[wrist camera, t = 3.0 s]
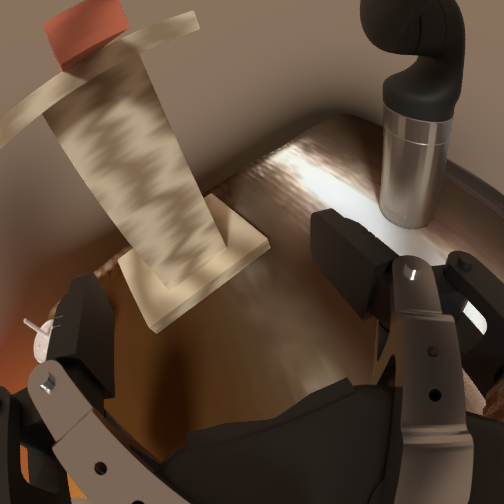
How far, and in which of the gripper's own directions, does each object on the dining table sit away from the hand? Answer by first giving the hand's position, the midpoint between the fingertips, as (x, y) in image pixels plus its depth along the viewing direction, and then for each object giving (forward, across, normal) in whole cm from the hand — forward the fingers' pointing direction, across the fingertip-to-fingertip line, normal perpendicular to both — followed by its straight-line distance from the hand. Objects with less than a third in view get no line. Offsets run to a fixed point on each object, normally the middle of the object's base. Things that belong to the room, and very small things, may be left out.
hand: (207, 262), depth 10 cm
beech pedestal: (+29, +1, +19) cm, 35 cm away
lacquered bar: (+18, +6, -11) cm, 22 cm away
